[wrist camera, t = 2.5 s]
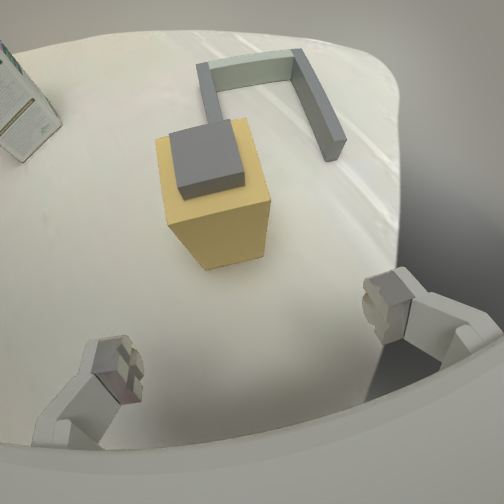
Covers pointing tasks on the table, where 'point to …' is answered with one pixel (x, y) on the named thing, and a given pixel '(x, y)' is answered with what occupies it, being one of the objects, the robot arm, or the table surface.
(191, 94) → the table surface
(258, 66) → the holder
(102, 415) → the robot arm
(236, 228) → the block
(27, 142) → the syrup box
